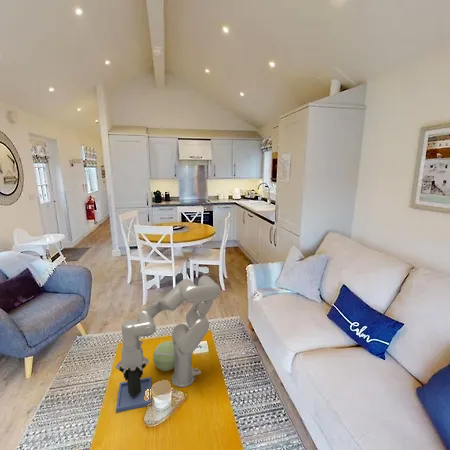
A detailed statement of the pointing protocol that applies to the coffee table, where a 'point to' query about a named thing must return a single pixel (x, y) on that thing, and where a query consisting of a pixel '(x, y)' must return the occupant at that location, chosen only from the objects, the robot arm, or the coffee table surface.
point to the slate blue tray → (128, 401)
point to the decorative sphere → (164, 356)
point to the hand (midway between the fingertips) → (133, 376)
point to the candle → (133, 381)
